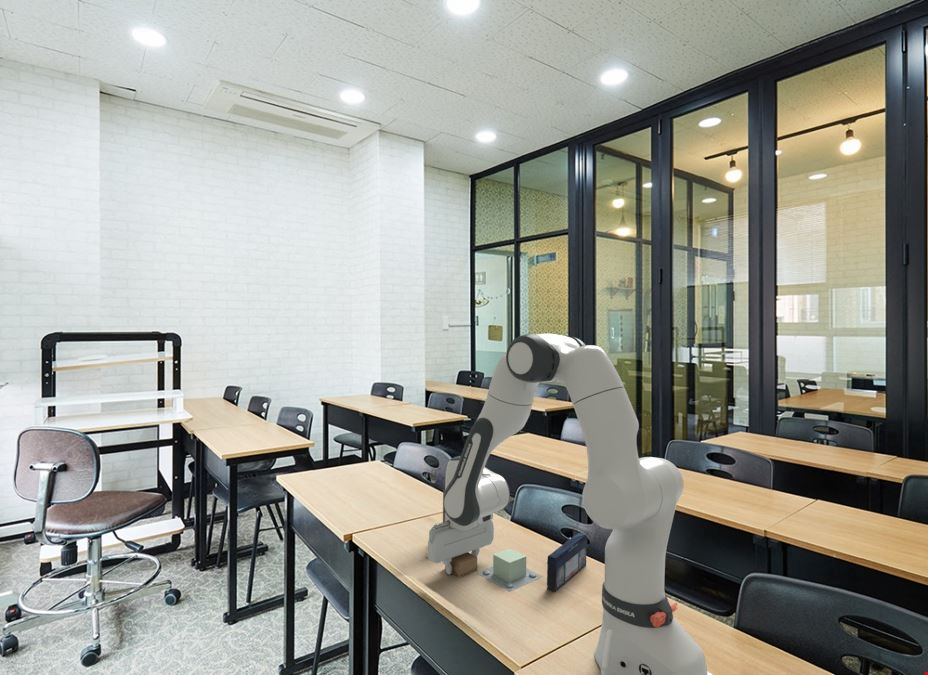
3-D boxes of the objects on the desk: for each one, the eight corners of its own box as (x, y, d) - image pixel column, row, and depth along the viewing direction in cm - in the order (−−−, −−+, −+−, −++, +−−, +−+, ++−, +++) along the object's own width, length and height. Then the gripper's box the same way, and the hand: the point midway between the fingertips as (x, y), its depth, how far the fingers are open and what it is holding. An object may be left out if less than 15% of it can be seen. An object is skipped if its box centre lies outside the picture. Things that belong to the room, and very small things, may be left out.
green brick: (526, 575, 129) (526, 556, 129) (509, 582, 125) (509, 562, 125) (509, 567, 134) (509, 548, 134) (493, 573, 130) (493, 554, 130)
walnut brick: (477, 576, 132) (477, 557, 132) (459, 583, 128) (459, 563, 128) (462, 567, 136) (462, 549, 136) (445, 574, 133) (445, 555, 133)
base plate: (542, 582, 129) (542, 574, 129) (509, 597, 121) (509, 589, 121) (509, 565, 138) (509, 558, 138) (476, 578, 130) (476, 571, 130)
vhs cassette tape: (555, 599, 121) (555, 558, 121) (544, 595, 123) (545, 554, 123) (588, 571, 135) (588, 534, 135) (578, 568, 137) (578, 532, 137)
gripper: (437, 529, 123) (436, 586, 123) (497, 511, 136) (497, 562, 136) (422, 522, 128) (421, 576, 128) (482, 505, 141) (481, 554, 141)
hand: (461, 568), depth 132 cm, fingers closed on walnut brick, 6 cm apart
